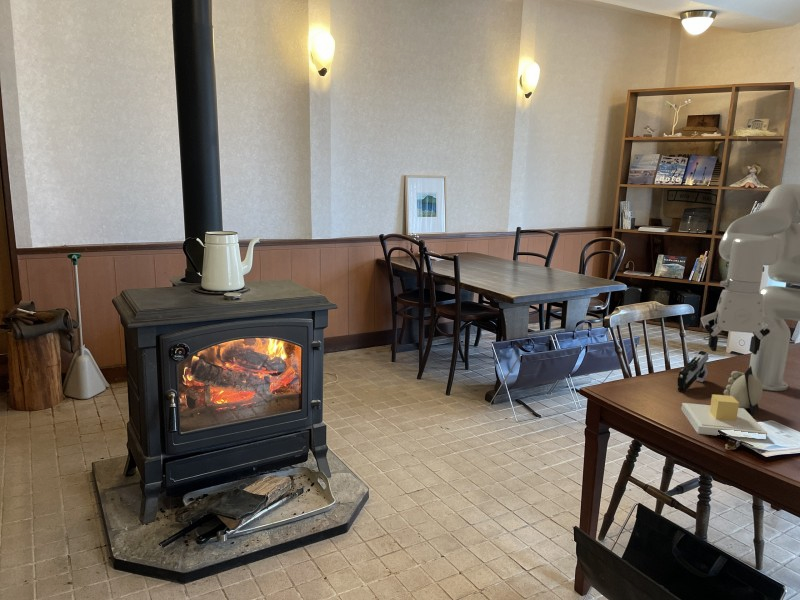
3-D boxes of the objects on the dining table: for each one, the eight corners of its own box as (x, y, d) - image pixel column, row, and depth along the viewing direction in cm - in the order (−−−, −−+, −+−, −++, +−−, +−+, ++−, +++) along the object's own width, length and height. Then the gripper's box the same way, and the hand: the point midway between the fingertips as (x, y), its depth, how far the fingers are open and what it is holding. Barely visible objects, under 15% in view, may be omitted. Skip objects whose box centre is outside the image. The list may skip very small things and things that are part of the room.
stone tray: (681, 409, 168) (682, 402, 168) (742, 415, 166) (743, 407, 165) (697, 433, 153) (698, 425, 153) (765, 440, 150) (767, 432, 150)
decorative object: (723, 417, 169) (730, 407, 176) (763, 417, 163) (769, 407, 170) (715, 374, 169) (723, 366, 176) (755, 373, 162) (761, 365, 169)
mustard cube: (709, 411, 162) (712, 394, 161) (729, 413, 161) (732, 395, 160) (715, 419, 157) (718, 401, 156) (736, 421, 156) (739, 403, 155)
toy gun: (676, 402, 185) (676, 373, 180) (700, 375, 195) (701, 347, 190) (684, 405, 183) (684, 375, 179) (708, 377, 193) (709, 348, 189)
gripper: (710, 287, 149) (701, 353, 153) (786, 291, 146) (775, 358, 150) (701, 281, 156) (692, 344, 160) (773, 285, 153) (763, 349, 157)
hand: (732, 351), depth 155 cm, fingers open, 9 cm apart
